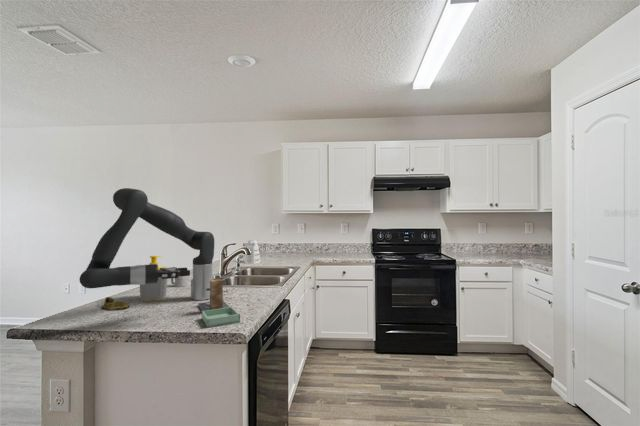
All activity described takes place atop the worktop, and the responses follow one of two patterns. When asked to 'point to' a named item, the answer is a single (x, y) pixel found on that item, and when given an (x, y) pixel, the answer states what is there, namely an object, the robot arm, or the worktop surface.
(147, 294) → the soap bottle
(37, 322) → the worktop surface
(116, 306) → the seal
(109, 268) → the robot arm
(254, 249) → the grater
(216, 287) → the brown wooden block
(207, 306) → the crank bed
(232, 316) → the tray
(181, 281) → the mug
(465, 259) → the worktop surface
